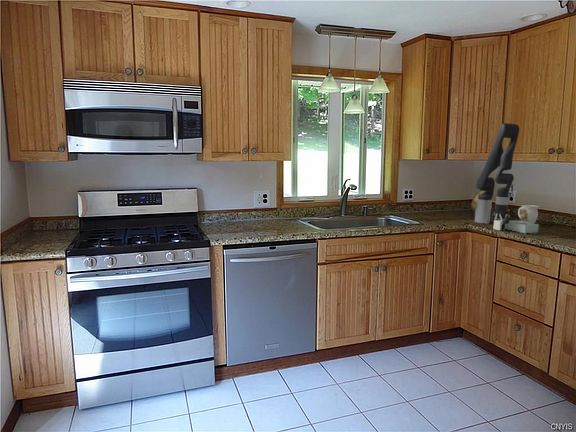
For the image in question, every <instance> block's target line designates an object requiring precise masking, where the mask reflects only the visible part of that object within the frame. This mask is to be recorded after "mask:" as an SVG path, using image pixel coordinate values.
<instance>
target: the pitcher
mask: <svg viewBox="0 0 576 432" xmlns="http://www.w3.org/2000/svg"><path fill="white" fill-rule="evenodd" d="M540 207H541V206H540V205H533V204H532V205H531V204H522V205H521V207H519V208H518V211H517V215H518V217H519V219H520V221H523V222H528V223H533V224H536V221H537V220H538V217H539V213H538V208H540Z"/></svg>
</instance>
